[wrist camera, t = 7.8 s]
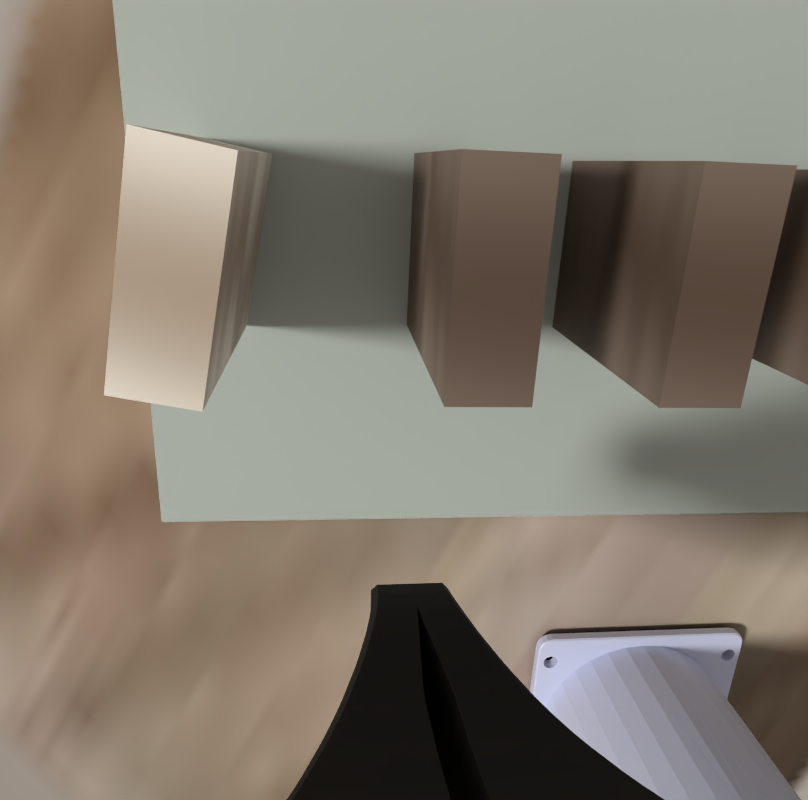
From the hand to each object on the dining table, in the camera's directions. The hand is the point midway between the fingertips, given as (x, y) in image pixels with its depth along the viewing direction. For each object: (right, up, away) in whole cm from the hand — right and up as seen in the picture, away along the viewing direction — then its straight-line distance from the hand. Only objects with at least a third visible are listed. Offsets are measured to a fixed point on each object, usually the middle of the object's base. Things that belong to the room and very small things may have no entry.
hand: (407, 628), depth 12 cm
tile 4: (+1, +9, +7) cm, 11 cm away
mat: (+5, +8, +8) cm, 12 cm away
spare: (-5, +9, +6) cm, 12 cm away
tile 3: (+5, +9, +7) cm, 13 cm away
